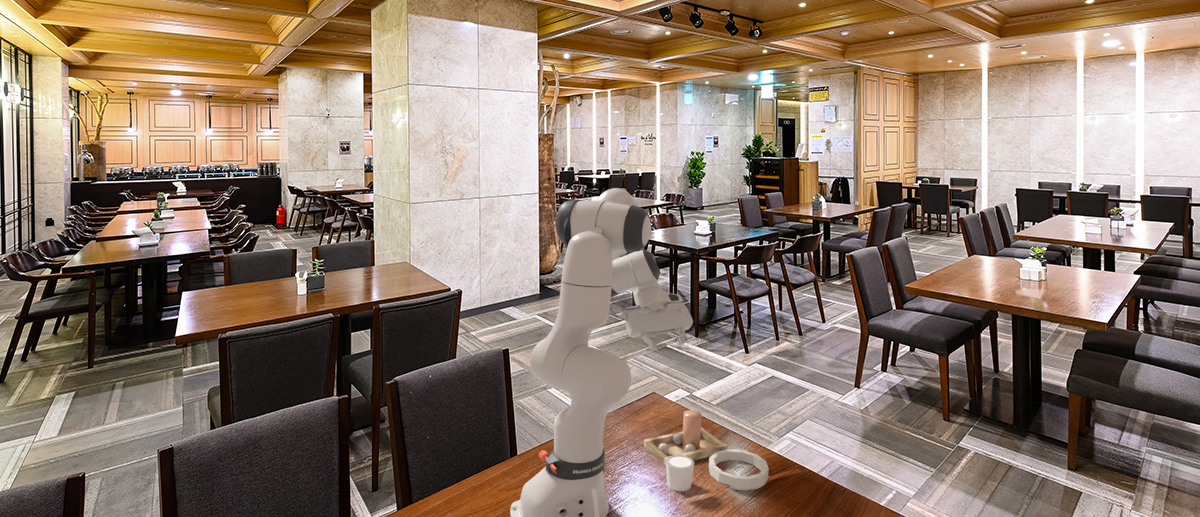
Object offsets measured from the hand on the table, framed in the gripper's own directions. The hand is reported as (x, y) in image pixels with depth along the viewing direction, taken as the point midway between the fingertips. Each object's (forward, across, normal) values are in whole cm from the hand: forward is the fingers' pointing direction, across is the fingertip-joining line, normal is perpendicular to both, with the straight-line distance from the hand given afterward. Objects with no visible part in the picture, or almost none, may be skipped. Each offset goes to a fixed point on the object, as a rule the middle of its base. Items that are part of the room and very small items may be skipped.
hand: (668, 345), depth 173 cm
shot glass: (+37, -12, 0) cm, 39 cm away
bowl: (+38, +5, 0) cm, 38 cm away
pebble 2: (+23, 0, +11) cm, 25 cm away
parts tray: (+27, -1, +11) cm, 29 cm away
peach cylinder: (+26, +1, +10) cm, 28 cm away
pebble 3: (+27, 0, +6) cm, 28 cm away
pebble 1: (+26, -8, +10) cm, 29 cm away
